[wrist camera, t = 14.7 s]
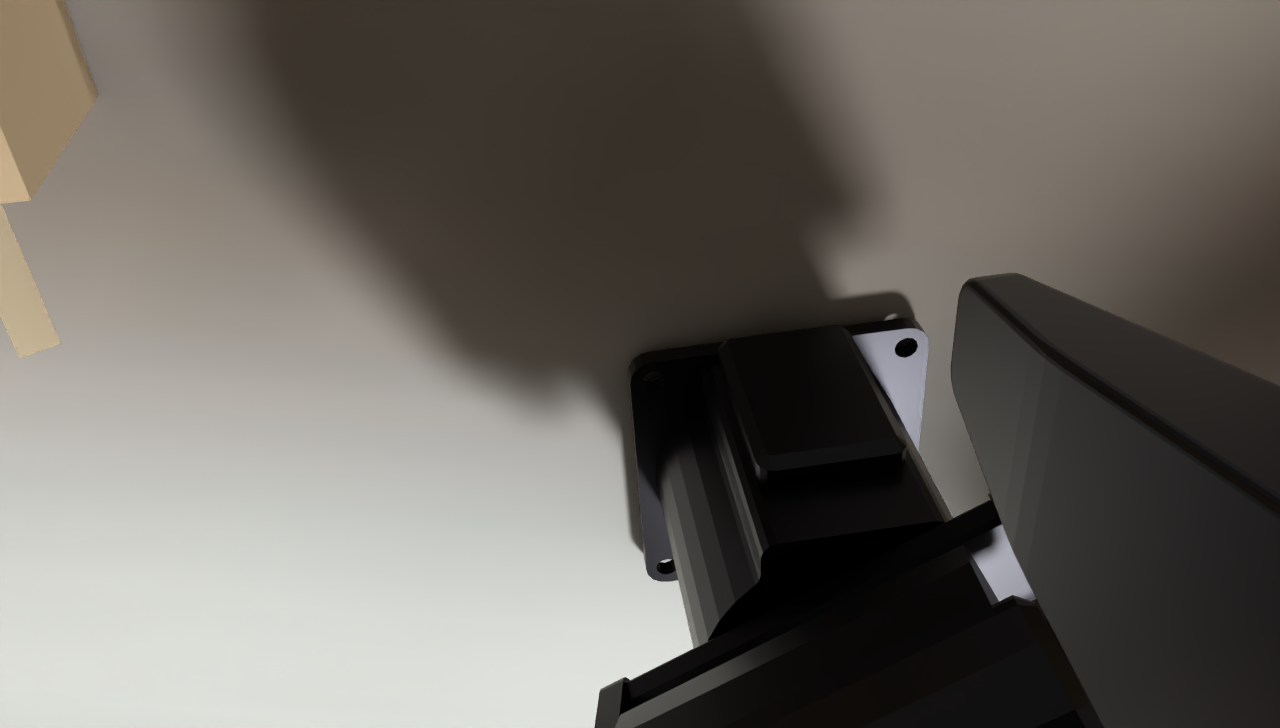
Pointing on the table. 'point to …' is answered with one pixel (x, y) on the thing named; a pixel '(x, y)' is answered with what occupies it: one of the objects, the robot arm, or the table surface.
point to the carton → (38, 92)
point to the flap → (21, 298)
